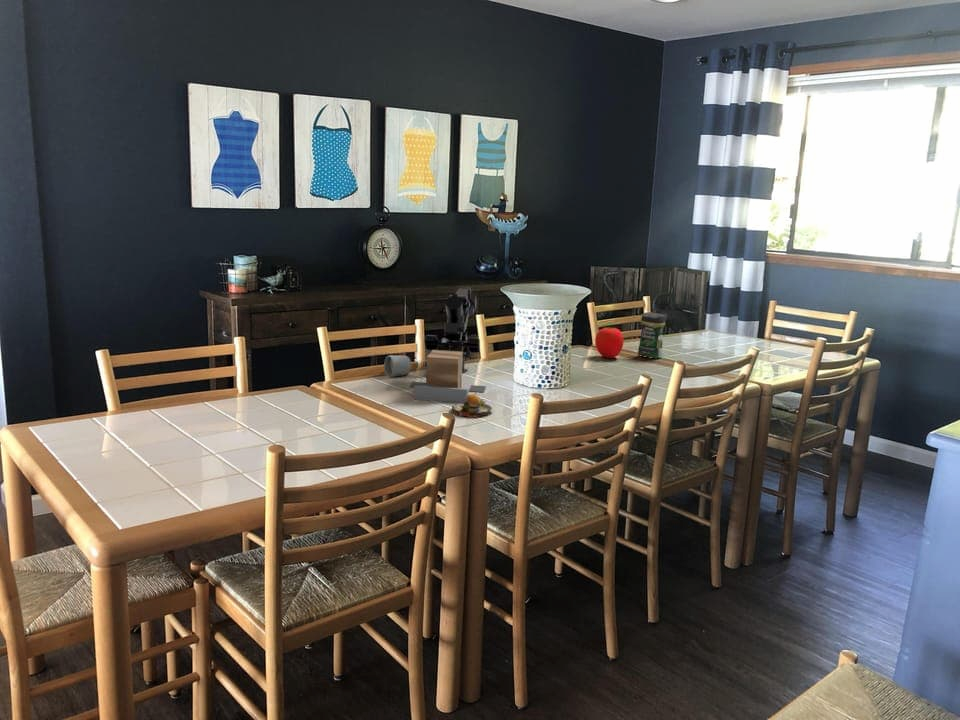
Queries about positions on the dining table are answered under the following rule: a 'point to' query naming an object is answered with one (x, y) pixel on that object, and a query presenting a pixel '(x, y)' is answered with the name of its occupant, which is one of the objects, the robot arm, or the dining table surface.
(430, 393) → the grey t-shaped block
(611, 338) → the red apple
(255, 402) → the dining table surface
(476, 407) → the burger
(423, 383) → the mats
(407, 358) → the ceramic mug
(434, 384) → the walnut block
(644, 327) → the coffee jar
